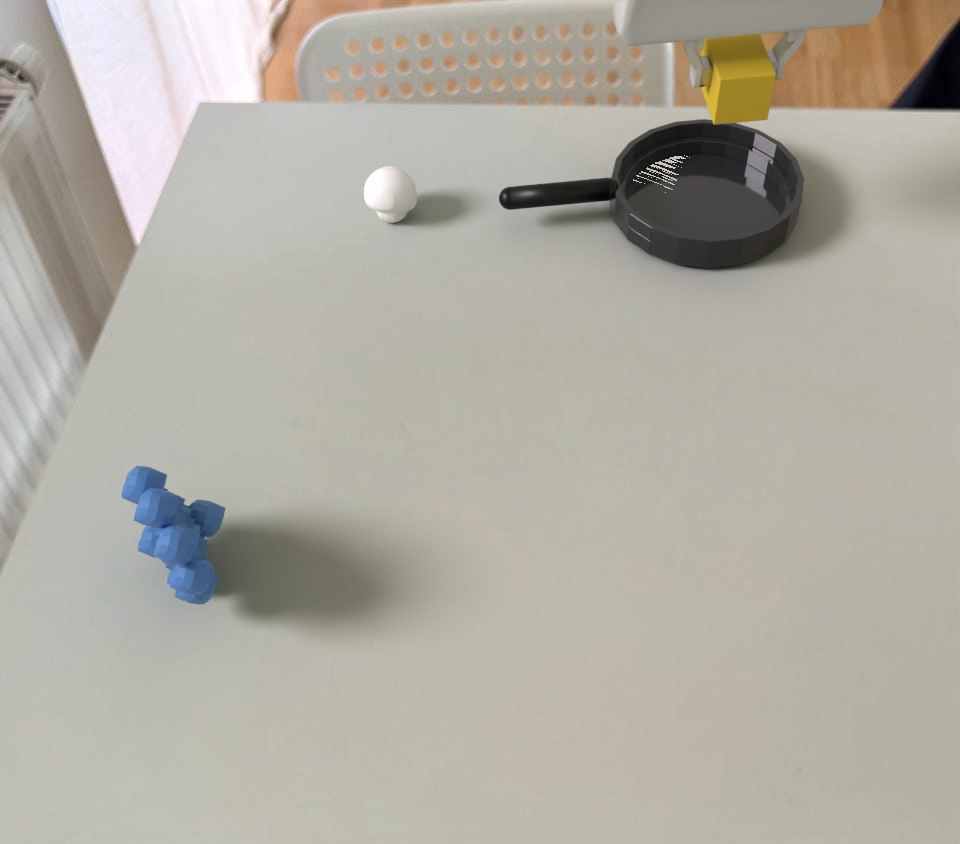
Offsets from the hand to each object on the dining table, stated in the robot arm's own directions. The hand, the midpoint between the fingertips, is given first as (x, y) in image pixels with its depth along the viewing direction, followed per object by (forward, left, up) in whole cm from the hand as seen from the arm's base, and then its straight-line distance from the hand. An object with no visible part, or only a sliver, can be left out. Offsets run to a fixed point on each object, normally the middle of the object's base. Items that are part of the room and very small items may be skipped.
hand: (734, 79), depth 89 cm
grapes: (+45, +33, -15) cm, 58 cm away
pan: (0, -3, -15) cm, 15 cm away
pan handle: (+14, -3, -13) cm, 19 cm away
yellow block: (0, 0, -2) cm, 2 cm away
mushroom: (+29, -6, -15) cm, 33 cm away
